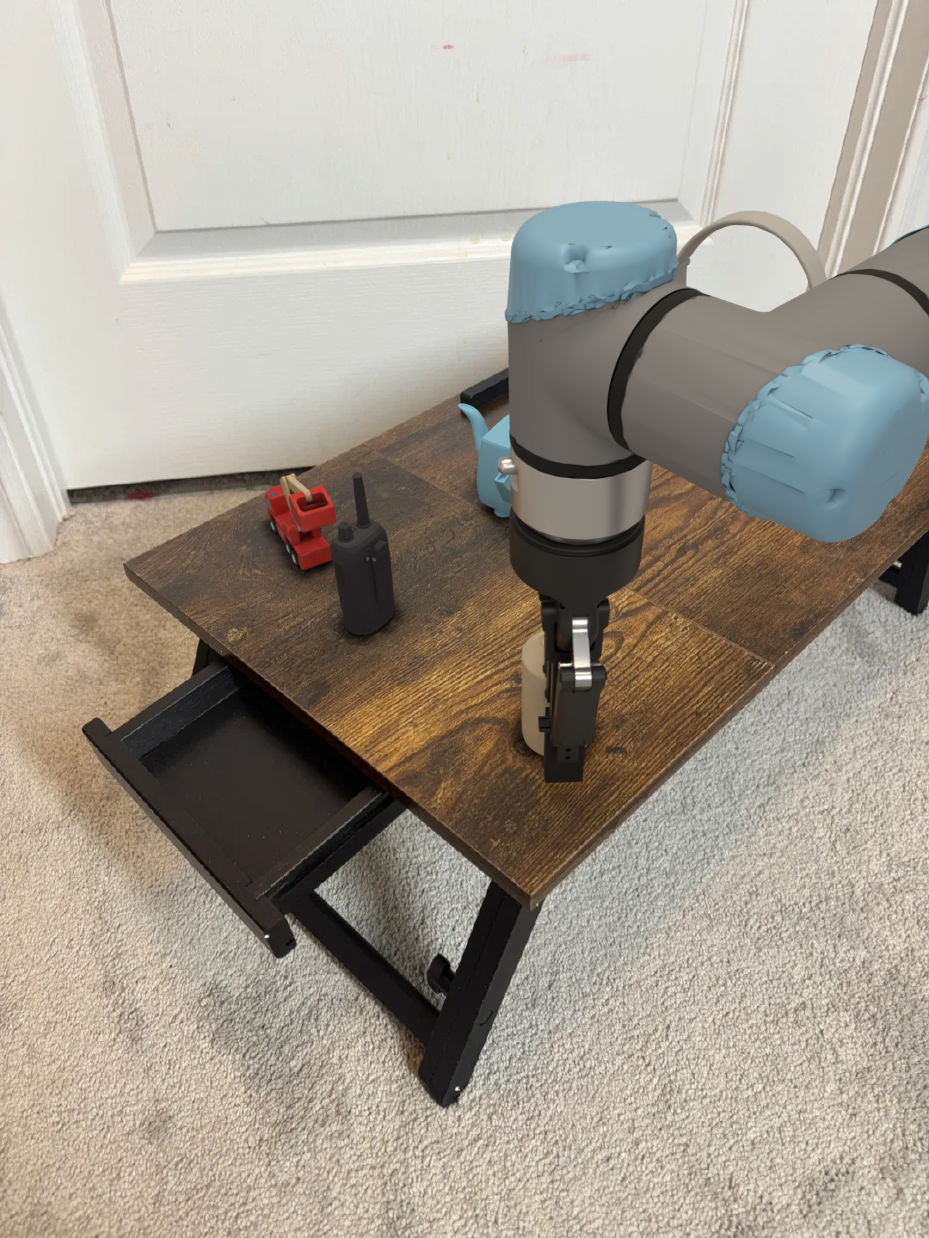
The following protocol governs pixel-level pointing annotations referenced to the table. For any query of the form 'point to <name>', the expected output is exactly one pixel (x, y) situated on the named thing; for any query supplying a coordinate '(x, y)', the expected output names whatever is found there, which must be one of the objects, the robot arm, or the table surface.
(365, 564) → the two-way radio
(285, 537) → the toy fire truck
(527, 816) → the table surface
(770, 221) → the headphones
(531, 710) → the candle
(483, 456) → the teapot
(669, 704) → the table surface
